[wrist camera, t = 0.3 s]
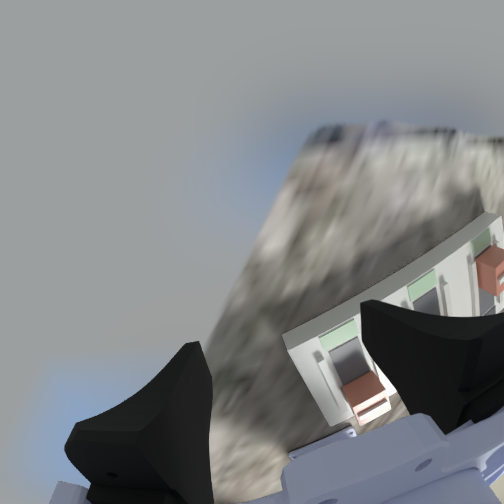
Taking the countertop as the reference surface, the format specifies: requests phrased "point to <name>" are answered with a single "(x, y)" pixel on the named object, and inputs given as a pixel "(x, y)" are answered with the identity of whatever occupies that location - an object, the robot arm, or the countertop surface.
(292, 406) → the countertop surface
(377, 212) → the countertop surface
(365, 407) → the switch
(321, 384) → the switch strip
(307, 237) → the countertop surface
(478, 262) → the switch
